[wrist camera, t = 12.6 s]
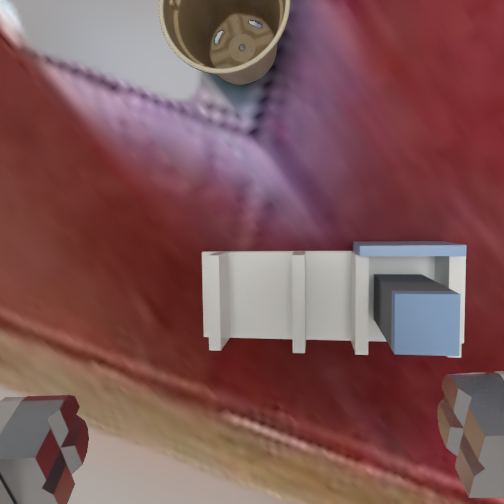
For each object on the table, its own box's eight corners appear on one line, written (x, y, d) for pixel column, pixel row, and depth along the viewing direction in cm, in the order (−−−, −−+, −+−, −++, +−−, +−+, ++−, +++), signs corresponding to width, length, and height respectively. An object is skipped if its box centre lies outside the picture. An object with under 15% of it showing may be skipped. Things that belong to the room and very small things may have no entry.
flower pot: (290, 107, 38) (283, 75, 30) (188, 102, 40) (153, 70, 31) (300, -3, 38) (296, -68, 29) (195, -5, 39) (162, -68, 30)
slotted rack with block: (205, 334, 41) (187, 354, 35) (203, 242, 41) (184, 246, 35) (460, 340, 38) (488, 363, 32) (463, 240, 37) (491, 244, 31)
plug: (373, 319, 38) (394, 354, 28) (373, 274, 38) (395, 293, 28) (421, 319, 37) (459, 356, 28) (421, 274, 37) (460, 294, 27)
